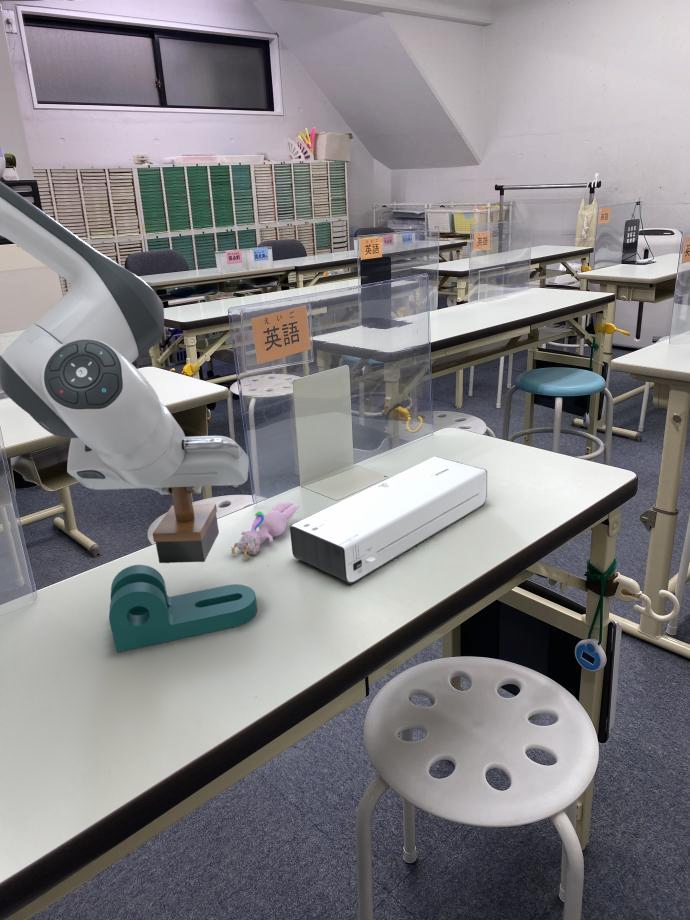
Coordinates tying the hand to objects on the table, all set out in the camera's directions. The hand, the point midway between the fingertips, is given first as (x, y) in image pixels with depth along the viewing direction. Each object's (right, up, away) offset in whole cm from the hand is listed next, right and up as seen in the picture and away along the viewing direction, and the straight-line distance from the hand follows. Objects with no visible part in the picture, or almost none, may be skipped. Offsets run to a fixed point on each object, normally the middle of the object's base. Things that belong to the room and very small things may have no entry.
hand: (181, 488), depth 89 cm
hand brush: (+1, -8, +2) cm, 8 cm away
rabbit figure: (+9, -9, +20) cm, 24 cm away
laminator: (+30, -8, +19) cm, 37 cm away
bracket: (+1, -18, 0) cm, 18 cm away
